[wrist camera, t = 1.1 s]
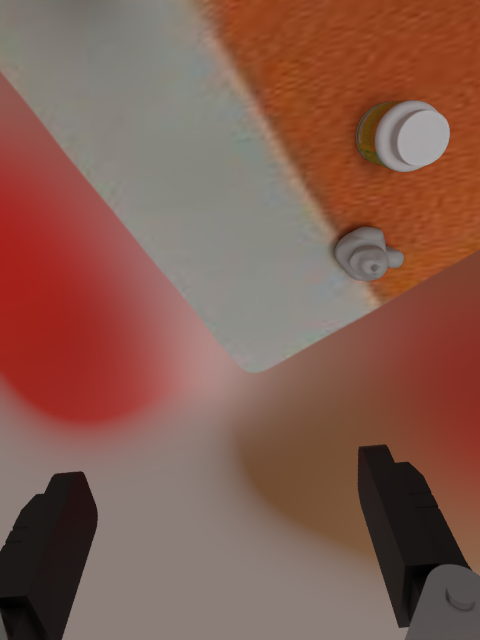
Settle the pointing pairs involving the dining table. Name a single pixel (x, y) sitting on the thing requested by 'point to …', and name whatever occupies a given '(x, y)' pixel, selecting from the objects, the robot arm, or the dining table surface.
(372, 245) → the grey rounded piece
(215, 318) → the dining table surface
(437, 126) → the supplement bottle
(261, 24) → the dining table surface
